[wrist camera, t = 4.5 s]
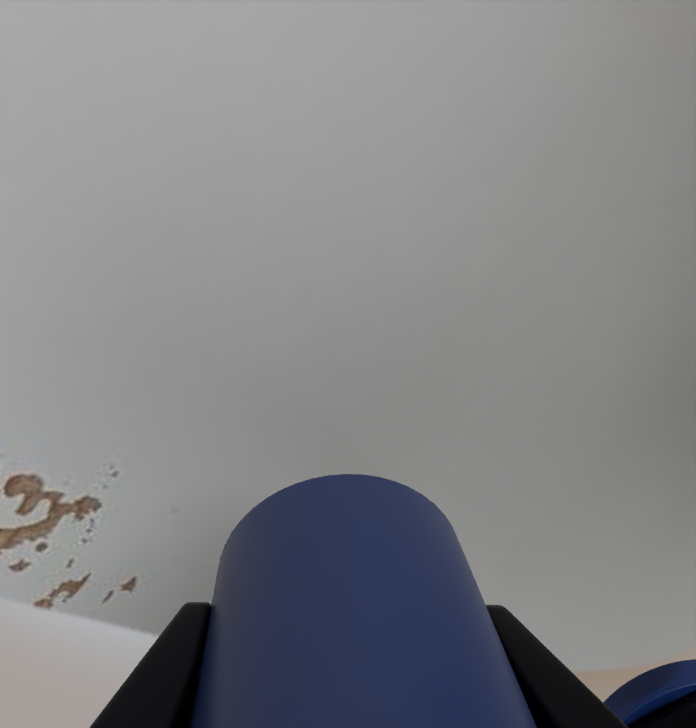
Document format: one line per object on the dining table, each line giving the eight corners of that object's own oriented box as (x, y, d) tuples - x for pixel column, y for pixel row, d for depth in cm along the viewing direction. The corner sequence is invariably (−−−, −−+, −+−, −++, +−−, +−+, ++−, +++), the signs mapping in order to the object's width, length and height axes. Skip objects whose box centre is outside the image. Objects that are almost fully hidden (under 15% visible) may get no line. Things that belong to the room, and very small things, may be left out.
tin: (501, 583, 10) (706, 1010, 5) (317, 692, 11) (334, 1162, 6) (372, 425, 8) (484, 821, 3) (165, 564, 9) (1, 1065, 4)
